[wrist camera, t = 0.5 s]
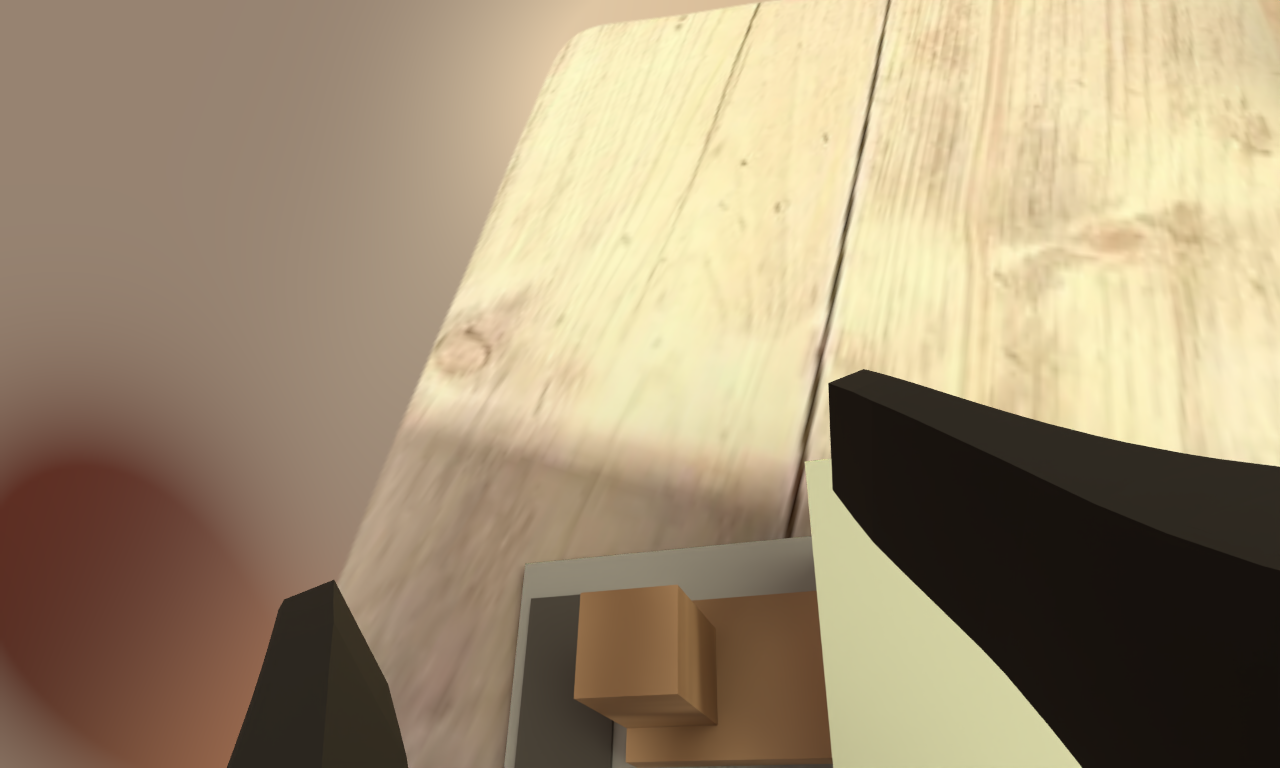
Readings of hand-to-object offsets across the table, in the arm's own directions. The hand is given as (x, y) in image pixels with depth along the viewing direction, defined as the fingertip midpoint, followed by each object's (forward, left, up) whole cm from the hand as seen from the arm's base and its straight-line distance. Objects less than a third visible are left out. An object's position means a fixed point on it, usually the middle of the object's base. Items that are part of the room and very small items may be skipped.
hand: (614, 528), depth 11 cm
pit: (+7, +5, -19) cm, 21 cm away
